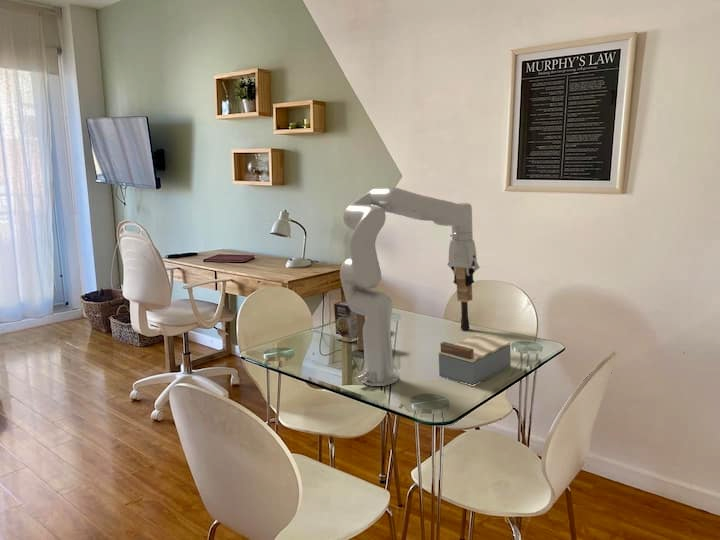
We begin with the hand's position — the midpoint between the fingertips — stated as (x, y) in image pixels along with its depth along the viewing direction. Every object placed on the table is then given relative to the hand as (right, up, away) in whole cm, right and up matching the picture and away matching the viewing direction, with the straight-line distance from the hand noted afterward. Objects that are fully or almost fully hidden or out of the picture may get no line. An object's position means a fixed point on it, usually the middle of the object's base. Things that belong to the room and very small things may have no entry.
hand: (463, 284), depth 205 cm
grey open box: (+1, -30, -17) cm, 35 cm away
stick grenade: (+6, -21, +29) cm, 36 cm away
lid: (0, -22, -19) cm, 29 cm away
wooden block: (-35, -27, +12) cm, 46 cm away
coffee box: (-44, -25, +26) cm, 57 cm away
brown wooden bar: (+1, -6, +2) cm, 6 cm away
